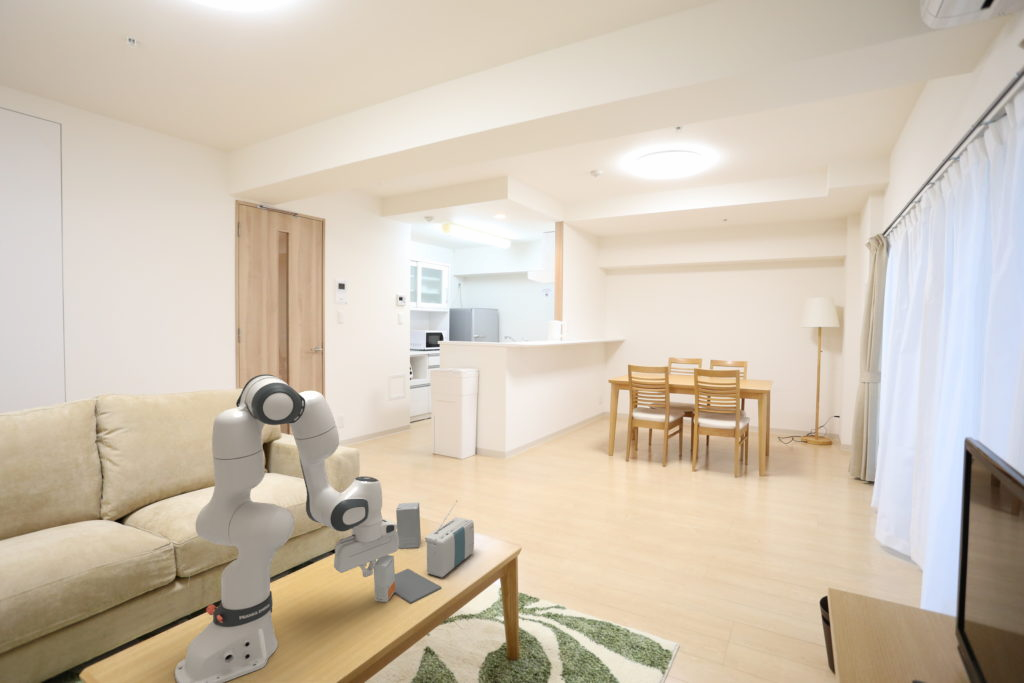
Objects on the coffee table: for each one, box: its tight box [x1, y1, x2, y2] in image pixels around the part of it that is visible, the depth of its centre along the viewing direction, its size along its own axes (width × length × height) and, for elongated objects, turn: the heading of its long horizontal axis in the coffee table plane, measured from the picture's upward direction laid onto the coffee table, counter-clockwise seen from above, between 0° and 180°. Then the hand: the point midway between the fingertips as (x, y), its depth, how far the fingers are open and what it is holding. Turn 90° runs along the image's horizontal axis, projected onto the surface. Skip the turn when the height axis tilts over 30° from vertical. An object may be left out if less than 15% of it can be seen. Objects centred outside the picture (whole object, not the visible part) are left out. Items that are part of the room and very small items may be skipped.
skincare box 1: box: [373, 554, 396, 603], centre depth 153 cm, size 6×4×12 cm
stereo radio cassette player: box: [424, 500, 475, 579], centre depth 175 cm, size 21×8×20 cm, turn 154°
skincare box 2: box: [395, 502, 422, 550], centre depth 191 cm, size 8×7×16 cm
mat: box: [393, 568, 442, 605], centre depth 161 cm, size 12×18×1 cm, turn 48°
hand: (367, 575), depth 149 cm, fingers closed
